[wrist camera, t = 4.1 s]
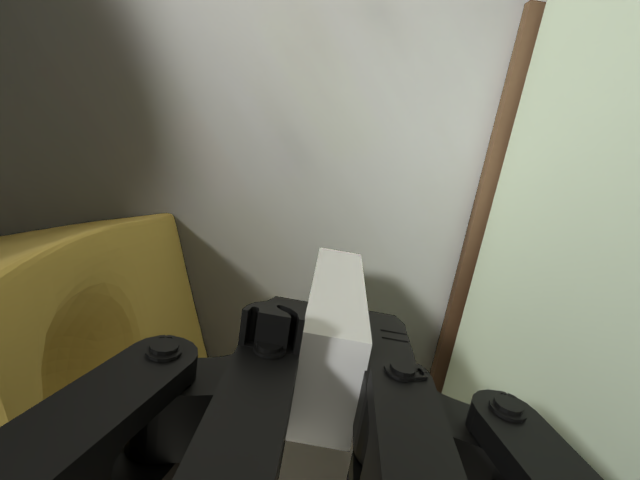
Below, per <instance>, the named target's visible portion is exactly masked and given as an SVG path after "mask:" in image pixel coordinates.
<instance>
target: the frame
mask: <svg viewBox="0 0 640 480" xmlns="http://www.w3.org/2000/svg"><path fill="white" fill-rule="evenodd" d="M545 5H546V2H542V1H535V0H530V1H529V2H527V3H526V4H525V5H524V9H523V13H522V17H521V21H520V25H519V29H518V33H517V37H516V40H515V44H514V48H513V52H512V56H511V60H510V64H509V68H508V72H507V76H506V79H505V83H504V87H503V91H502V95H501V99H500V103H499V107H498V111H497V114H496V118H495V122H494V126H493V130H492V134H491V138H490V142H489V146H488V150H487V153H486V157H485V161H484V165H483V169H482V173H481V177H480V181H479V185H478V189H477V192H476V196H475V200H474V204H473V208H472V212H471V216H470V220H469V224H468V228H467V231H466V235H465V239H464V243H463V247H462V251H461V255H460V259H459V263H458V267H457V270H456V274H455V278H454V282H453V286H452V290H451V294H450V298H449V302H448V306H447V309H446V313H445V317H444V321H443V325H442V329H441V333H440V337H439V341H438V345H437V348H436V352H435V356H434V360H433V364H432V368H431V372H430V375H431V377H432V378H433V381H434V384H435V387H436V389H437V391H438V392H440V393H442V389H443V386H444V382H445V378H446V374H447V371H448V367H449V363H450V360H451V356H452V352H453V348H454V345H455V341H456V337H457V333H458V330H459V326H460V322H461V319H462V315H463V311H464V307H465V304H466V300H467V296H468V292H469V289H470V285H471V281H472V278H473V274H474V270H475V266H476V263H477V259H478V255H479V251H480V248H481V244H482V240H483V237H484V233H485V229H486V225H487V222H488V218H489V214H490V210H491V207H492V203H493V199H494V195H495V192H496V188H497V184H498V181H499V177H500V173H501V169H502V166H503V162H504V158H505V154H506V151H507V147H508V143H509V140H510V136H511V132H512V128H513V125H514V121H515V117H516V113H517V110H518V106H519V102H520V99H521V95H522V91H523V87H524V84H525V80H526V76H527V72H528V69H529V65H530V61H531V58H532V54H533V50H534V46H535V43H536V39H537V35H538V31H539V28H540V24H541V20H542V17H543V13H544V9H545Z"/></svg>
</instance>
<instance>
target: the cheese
mask: <svg viewBox="0 0 640 480" xmlns="http://www.w3.org/2000/svg"><path fill="white" fill-rule="evenodd" d="M158 335H165V336H167V335H173V336H176V337H182V338H185V339H187V340H189V341H191V342H193V343H194V345H195V346H196V347H197V348H198V358H208V357H207V353H206V350H205V346H204V342H203V338H202V333H201V329H200V325H199V322H198V317H197V313H196V309H195V305H194V301H193V297H192V292H191V288H190V284H189V280H188V276H187V271H186V267H185V263H184V258H183V253H182V249H181V244H180V239H179V235H178V231H177V227H176V223H175V219H174V217H173V215H172V214H169V213H161V214H153V215H145V216H137V217H128V218H119V219H110V220H102V221H93V222H87V223H80V224H73V225H66V226H60V227H54V228H47V229H41V230H35V231H29V232H23V233H17V234H12V235H6V236H0V427H1V426H3V425H4V424H6V423H7V422H9V421H11V420H12V419H14V418H15V417H17V416H19V415H20V414H22V413H23V412H25V411H27V410H28V409H30V408H31V407H33V406H35V405H36V404H38V403H39V402H41V401H43V400H44V399H46V398H47V397H49V396H51V395H52V394H54V393H55V392H57V391H59V390H60V389H62V388H64V387H65V386H67V385H68V384H70V383H72V382H73V381H75V380H76V379H78V378H80V377H81V376H83V375H84V374H86V373H88V372H89V371H91V370H92V369H94V368H96V367H97V366H99V365H100V364H102V363H104V362H105V361H107V360H108V359H110V358H112V357H113V356H115V355H116V354H118V353H120V352H121V351H123V350H124V349H126V348H128V347H129V346H131V345H133V344H134V343H136V342H138V341H140V340H143V339H145V338H149V337H154V336H158Z"/></svg>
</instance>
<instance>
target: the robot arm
mask: <svg viewBox="0 0 640 480" xmlns="http://www.w3.org/2000/svg"><path fill="white" fill-rule="evenodd" d="M352 437H353V453H352V457H351V462H350V466H349V471H348V476H347V480H604V479H603V478H602V477H601V476H600V475H599V474H598V473H597V472H596V471H595V470H594V469H593V468H592V467H591V466H590V465H589V464H588V463H587V462H586V461H585V460H584V459H583V458H582V457H581V456H580V455H579V454H578V453H577V452H576V451H575V450H574V449H573V448H572V447H571V446H570V445H569V444H568V443H567V442H566V441H565V440H564V439H563V438H562V436H561V435H560V434H559V433H558V432H557V431H556V430H555V429H554V428H553V427H552V426H551V425H550V424H549V423H548V422H547V421H546V420H545V419H544V418H543V417H542V416H541V415H540V414H539V413H538V412H537V411H536V410H535V409H533V408H532V407H531V406H530V405H528V404H527V403H526V402H524V401H522V400H520V399H518V398H517V397H516V396H514V395H512V394H509V393H508V394H507V393H506V392H503V391H496V390H489V389H487V390H479V391H477V392H476V393H474V394H473V396H472V400H471V403H470V404H467V403H464V402H462V401H459V400H456V399H453V398H451V397H449V396H446V395H444V394H442V393H440V392H438V391H437V389H436V387H435V384H434V381H433V378H432V377H431V375H430V374H429V372H428V371H427V370H426V369H424V368H423V367H422V366H421V365H419V364H417V363H416V362H415V358H414V355H413V352H412V348H411V345H410V343H409V338H408V336H407V332H406V328H405V325H404V324H403V323H402V322H401V321H400V320H399V319H398V318H397V317H396V316H394V315H389V314H383V313H377V312H371V311H368V305H367V297H366V289H365V281H364V273H363V265H362V257H361V254H356V253H350V252H344V251H339V250H333V249H327V248H321V247H320V249H319V254H318V258H317V263H316V268H315V272H314V277H313V282H312V286H311V291H310V296H309V300H308V302H306V301H300V300H294V299H288V298H283V297H277V296H275V297H274V298H272V299H270V300H268V301H265V302H255V303H252V304H249V305H247V306H246V307H245V308H244V309H242V317H241V325H240V333H239V342H238V346H237V348H236V350H235V352H234V354H231V355H227V356H223V357H212V358H198V348H197V347H196V346H195V345H194V343H193V342H191V341H189V340H187V339H185V338H182V337H176V336H173V335H167V336H165V335H158V336H154V337H149V338H145V339H143V340H140V341H138V342H136V343H134V344H133V345H131V346H129V347H128V348H126V349H124V350H123V351H121V352H120V353H118V354H116V355H115V356H113V357H112V358H110V359H108V360H107V361H105V362H104V363H102V364H100V365H99V366H97V367H96V368H94V369H92V370H91V371H89V372H88V373H86V374H84V375H83V376H81V377H80V378H78V379H76V380H75V381H73V382H72V383H70V384H68V385H67V386H65V387H64V388H62V389H60V390H59V391H57V392H55V393H54V394H52V395H51V396H49V397H47V398H46V399H44V400H43V401H41V402H39V403H38V404H36V405H35V406H33V407H31V408H30V409H28V410H27V411H25V412H23V413H22V414H20V415H19V416H17V417H15V418H14V419H12V420H11V421H9V422H7V423H6V424H4V425H3V426H1V427H0V480H278V478H279V473H280V468H281V462H282V457H283V451H284V445H285V441H291V442H297V443H302V444H308V445H313V446H319V447H325V448H330V449H336V450H341V451H347V452H349V451H350V446H351V442H352Z"/></svg>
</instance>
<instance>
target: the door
mask: <svg viewBox="0 0 640 480" xmlns="http://www.w3.org/2000/svg"><path fill="white" fill-rule="evenodd" d="M487 389H489V390H496V391H503V392H506V393H507V394H508V393H509V394H512V395H514V396H516V397H517V398H518V399H520V400H522V401H524V402H526V403H527V404H528V405H530V406H531V407H532V408H533V409H535V410H536V411H537V412H538V413H539V414H540V415H541V416H542V417H543V418H544V419H545V420H546V421H547V422H548V423H549V424H550V425H551V426H552V427H553V428H554V429H555V430H556V431H557V432H558V433H559V434H560V435H561V436H562V438H563V439H564V440H565V441H566V442H567V443H568V444H569V445H570V446H571V447H572V448H573V449H574V450H575V451H576V452H577V453H578V454H579V455H580V456H581V457H582V458H583V459H584V460H585V461H586V462H587V463H588V464H589V465H590V466H591V467H592V468H593V469H594V470H595V471H596V472H597V473H598V474H599V475H600V476H601V477H602V478H603V479H604V480H640V0H547V2H546V5H545V9H544V13H543V17H542V20H541V24H540V28H539V31H538V35H537V39H536V43H535V46H534V50H533V54H532V58H531V61H530V65H529V69H528V72H527V76H526V80H525V84H524V87H523V91H522V95H521V99H520V102H519V106H518V110H517V113H516V117H515V121H514V125H513V128H512V132H511V136H510V140H509V143H508V147H507V151H506V154H505V158H504V162H503V166H502V169H501V173H500V177H499V181H498V184H497V188H496V192H495V195H494V199H493V203H492V207H491V210H490V214H489V218H488V222H487V225H486V229H485V233H484V237H483V240H482V244H481V248H480V251H479V255H478V259H477V263H476V266H475V270H474V274H473V278H472V281H471V285H470V289H469V292H468V296H467V300H466V304H465V307H464V311H463V315H462V319H461V322H460V326H459V330H458V333H457V337H456V341H455V345H454V348H453V352H452V356H451V360H450V363H449V367H448V371H447V374H446V378H445V382H444V386H443V389H442V394H444V395H446V396H449V397H451V398H453V399H456V400H459V401H462V402H464V403H467V404H470V403H471V400H472V396H473V394H474V393H476V392H477V391H479V390H487Z"/></svg>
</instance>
